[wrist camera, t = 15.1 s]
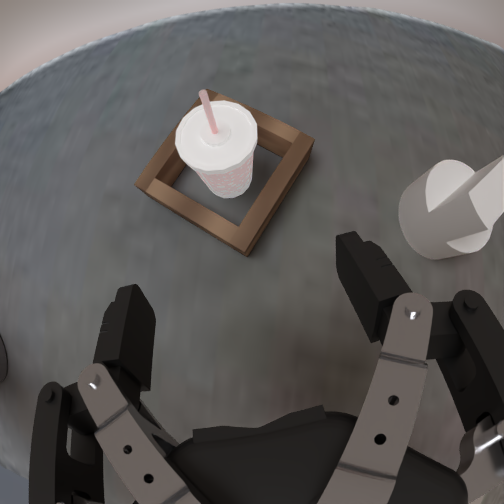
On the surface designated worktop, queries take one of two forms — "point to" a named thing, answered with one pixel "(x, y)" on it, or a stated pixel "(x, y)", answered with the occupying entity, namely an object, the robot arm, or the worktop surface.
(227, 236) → the walnut collar
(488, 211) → the cylinder with rectangular tab
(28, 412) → the worktop surface
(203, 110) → the beverage cup
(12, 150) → the worktop surface
